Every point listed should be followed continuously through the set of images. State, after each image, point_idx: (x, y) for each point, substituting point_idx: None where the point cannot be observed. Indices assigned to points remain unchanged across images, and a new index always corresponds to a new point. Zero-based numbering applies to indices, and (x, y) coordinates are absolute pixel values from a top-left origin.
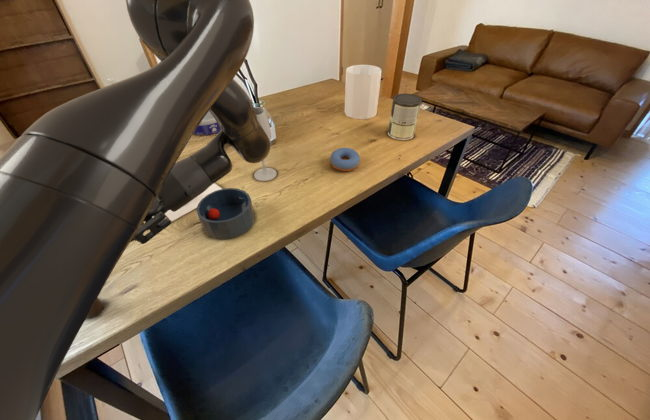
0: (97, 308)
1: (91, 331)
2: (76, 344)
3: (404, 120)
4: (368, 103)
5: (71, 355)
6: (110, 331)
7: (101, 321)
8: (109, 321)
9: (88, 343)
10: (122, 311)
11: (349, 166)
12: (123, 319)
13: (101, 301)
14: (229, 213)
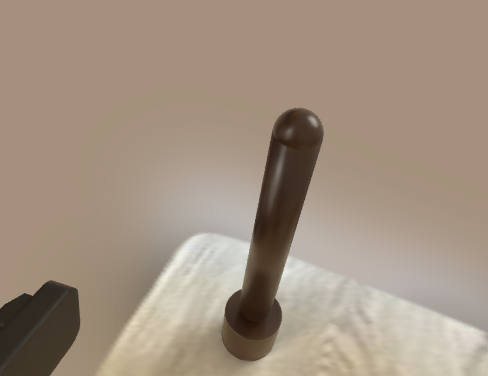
0: (224, 330)
1: (192, 296)
2: (194, 265)
3: None
4: None
5: (179, 248)
6: (143, 317)
7: (194, 323)
8: (172, 333)
9: (169, 277)
10: (164, 370)
11: None
12: (138, 355)
13: (244, 354)
14: None
